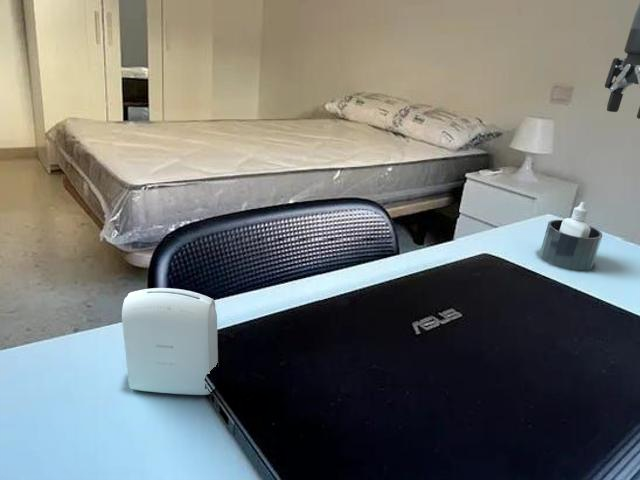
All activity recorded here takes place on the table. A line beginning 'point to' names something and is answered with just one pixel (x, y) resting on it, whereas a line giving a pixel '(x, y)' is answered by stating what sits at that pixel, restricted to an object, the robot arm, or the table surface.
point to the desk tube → (569, 248)
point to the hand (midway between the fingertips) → (626, 115)
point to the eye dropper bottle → (576, 223)
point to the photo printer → (169, 340)
